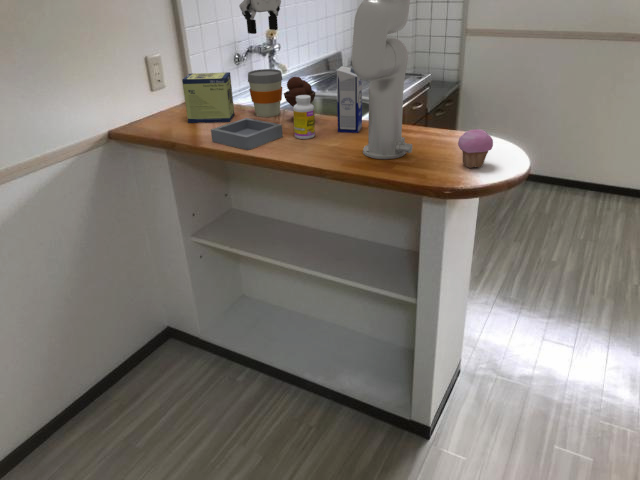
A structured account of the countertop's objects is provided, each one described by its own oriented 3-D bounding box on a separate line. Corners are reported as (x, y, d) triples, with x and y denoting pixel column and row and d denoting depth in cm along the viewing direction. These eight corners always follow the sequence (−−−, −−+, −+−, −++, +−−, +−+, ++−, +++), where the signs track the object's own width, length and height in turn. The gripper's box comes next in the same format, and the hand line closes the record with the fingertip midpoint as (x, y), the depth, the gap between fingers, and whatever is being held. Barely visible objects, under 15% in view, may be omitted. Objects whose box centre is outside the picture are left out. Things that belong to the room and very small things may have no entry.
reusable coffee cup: (269, 107, 210) (266, 67, 203) (291, 112, 202) (289, 71, 195) (244, 114, 202) (240, 73, 195) (265, 120, 194) (262, 77, 187)
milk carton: (342, 126, 184) (341, 65, 175) (362, 127, 182) (362, 65, 173) (337, 132, 178) (336, 69, 169) (357, 133, 176) (357, 69, 167)
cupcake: (484, 160, 150) (488, 124, 145) (494, 171, 142) (498, 134, 137) (452, 161, 150) (455, 126, 145) (460, 172, 142) (463, 135, 137)
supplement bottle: (308, 140, 171) (306, 99, 165) (290, 138, 174) (288, 97, 168) (318, 134, 176) (317, 95, 170) (301, 132, 179) (299, 93, 173)
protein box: (230, 122, 193) (225, 77, 186) (187, 123, 193) (181, 79, 186) (235, 114, 202) (230, 71, 195) (194, 115, 203) (187, 73, 195)
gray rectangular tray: (282, 136, 175) (282, 124, 173) (248, 150, 164) (246, 137, 162) (247, 129, 184) (246, 117, 182) (212, 141, 173) (210, 129, 171)
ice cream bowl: (303, 125, 186) (301, 81, 179) (279, 120, 192) (276, 77, 185) (322, 118, 194) (321, 75, 187) (298, 114, 200) (296, 72, 193)
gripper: (246, -29, 152) (252, 35, 160) (286, -32, 164) (290, 28, 172) (228, -29, 157) (234, 34, 165) (268, -31, 169) (272, 27, 177)
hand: (263, 31), depth 168 cm, fingers open, 9 cm apart
